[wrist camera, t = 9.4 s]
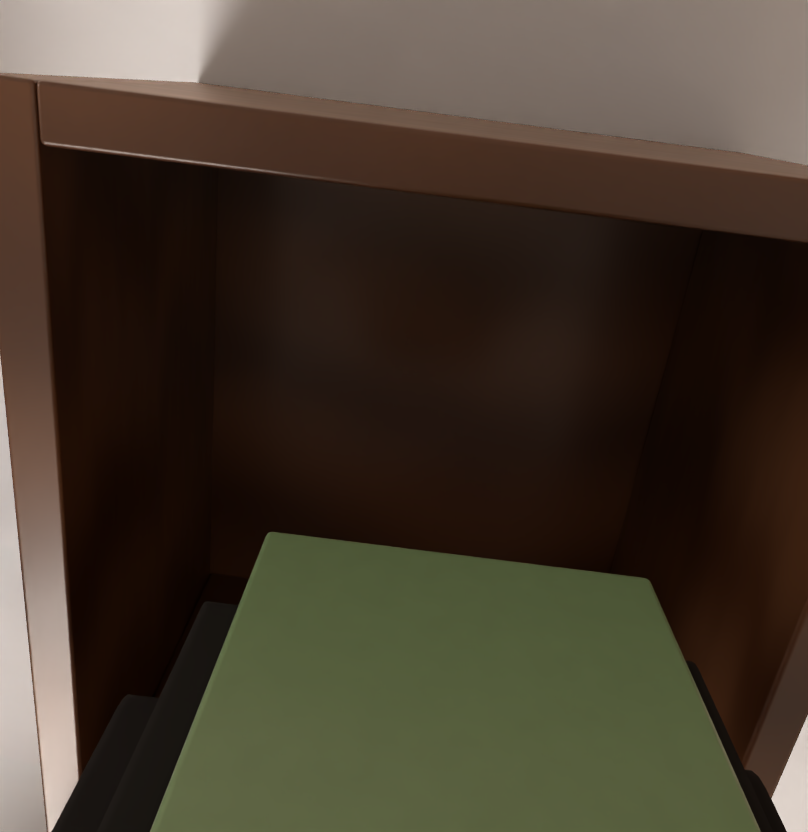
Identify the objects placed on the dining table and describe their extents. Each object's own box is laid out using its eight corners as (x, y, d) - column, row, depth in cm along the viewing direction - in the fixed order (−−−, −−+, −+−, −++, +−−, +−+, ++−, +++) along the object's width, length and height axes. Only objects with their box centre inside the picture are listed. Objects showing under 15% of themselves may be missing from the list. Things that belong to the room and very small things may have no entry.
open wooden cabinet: (196, 82, 18) (-31, 70, 9) (743, 152, 19) (1031, 208, 10) (191, 576, 24) (48, 860, 15) (610, 626, 24) (713, 937, 15)
